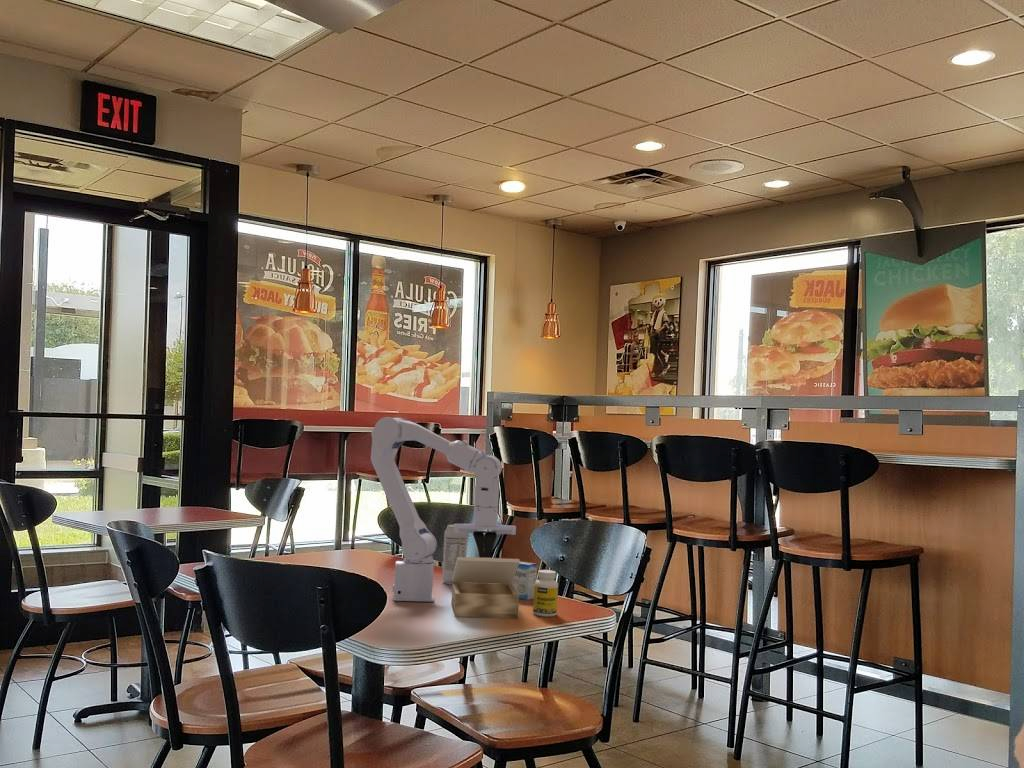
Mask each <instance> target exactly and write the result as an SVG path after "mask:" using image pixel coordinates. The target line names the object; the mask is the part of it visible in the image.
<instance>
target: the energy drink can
mask: <svg viewBox="0 0 1024 768" xmlns="http://www.w3.org/2000/svg"><path fill="white" fill-rule="evenodd" d="M443 539H444V540H443V555H442V556H443V558H442V574H441V576H442V578H441V580H443V584H446V585H452V582H453V574H454V570H455V565H456V560H457V557H467V549H468V548H467V547H468V533H460V532H459V533H454V524H447V527H446V529H445V530H444V536H443ZM453 583H460V582H453Z"/></svg>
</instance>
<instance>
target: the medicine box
mask: <svg viewBox="0 0 1024 768" xmlns="http://www.w3.org/2000/svg"><path fill="white" fill-rule="evenodd" d="M537 571H538V563H535V562H534V563H533V562H527V561H520V563H519V565H518V568H517V571H516V574H515V576H514V579H513V582H512V585H513V587H514V589H515V590H516V592H517V593H518V595H519V600H524V601H529V600H534V586H535V582H536V581H537V575H538V574H537V573H538V572H537Z"/></svg>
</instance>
